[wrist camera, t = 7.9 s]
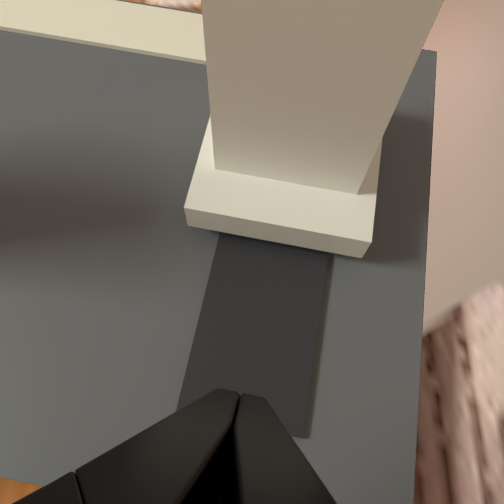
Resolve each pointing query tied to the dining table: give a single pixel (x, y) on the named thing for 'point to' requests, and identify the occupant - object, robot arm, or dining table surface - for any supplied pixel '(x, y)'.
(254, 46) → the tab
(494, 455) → the dining table surface
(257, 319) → the switch board
